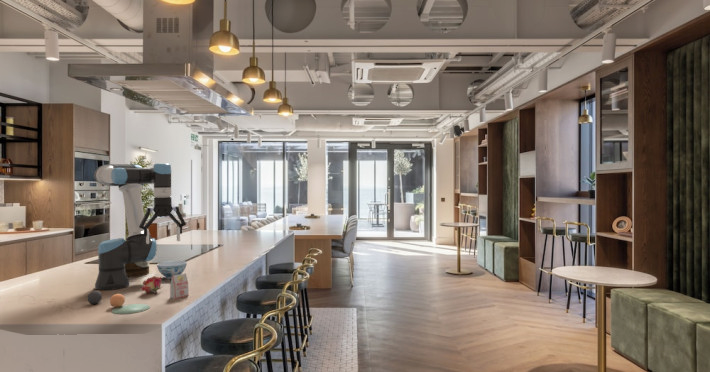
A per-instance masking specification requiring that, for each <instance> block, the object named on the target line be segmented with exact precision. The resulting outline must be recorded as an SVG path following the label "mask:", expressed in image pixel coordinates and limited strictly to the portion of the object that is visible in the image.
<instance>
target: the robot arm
mask: <svg viewBox="0 0 710 372" xmlns="http://www.w3.org/2000/svg"><path fill="white" fill-rule="evenodd" d="M94 179H95V181H96V182H97V183H99V184H101V185H102V186H107V187H118V191H119V192H121V193H122V198H123V204H124V211H125V216H126V224H127V229H128V230H127V231H128V235H127V236H126V240H125V238H119V237H118V238H111V239H108V240H104V241H101V242H99V244H98V247H97V248H98V250H97V254H98V258H97V259H98V274H97V277H96V281H95V283H94V288H95V289H96V291H98V290H99V291H112V290H118V289H122V288H127V287H128V286H129V285H130V278H129V277H128V276H127V274H126V271H125V264H129V263H136V262H145V261H149V262H150V261H152V260H154V258H155V256H156V253H157V248H158V247H157V245H158V244H157V240H156V238H155V237H154V238H153V237H152V236H151V233H150V230H149V227H150V226H152V224H153V222H155V220H156V219H157V218H158V217H159V218H163V217H165V218H167V217H169V218H170V219H171V220H172V221H173V222H174V223H175V224H176V225H177V227H176V241H177V242H181V235H182V234H183V227H184V226H186V225H187V223H186V221H185V219H184V218H183V215H182V213H181V212H180V208H179V206H177V205H176V206H172V197H171V196H172V165H171V164H170V163H154V164H153V167H143V166H141V165H140V164H133V163H130V164H125V163H124V164H121V163H120V164H117V163H116V164H113V163H110V164H104V165H101V166H99V167H97V169H95V171H94ZM146 184H147V185H148V184H151V185H152V184H153V196H154V197H153V207H146V210H145V213H144V207H143V206H144V205H143V201H142V193H141V190H142V189H143V186H144V185H146ZM172 211H174V212H175V214H176V216H177V217H178V218H176V217H175V216H174V215H173V214H172ZM152 212H154V214H152V216H151V218H150V219H149V220H148V218H149V216H150V215H151V213H152ZM178 219H179V220H178ZM179 221H180V222H179Z"/></svg>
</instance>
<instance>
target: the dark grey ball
mask: <svg viewBox="0 0 710 372" xmlns="http://www.w3.org/2000/svg"><path fill="white" fill-rule="evenodd" d="M102 295H103V294H102V293H101V292H100V291H98V290H92V291H90V292H89V293H88V294H87V296H86V299H87V302H88V303H89V304H91V305H95V304H98V303H100V302H101V301H102V298H103V296H102Z"/></svg>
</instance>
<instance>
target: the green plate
mask: <svg viewBox="0 0 710 372" xmlns="http://www.w3.org/2000/svg"><path fill="white" fill-rule="evenodd" d="M150 308H151V306H150V305H149V304H147V303H146V304H145V303H132V304H126V305H122V306H120V307H114V308H113V309H112V310H111V313H112V314H115V315H131V314H137V313H142V312H144V311H146V310H148V309H150Z"/></svg>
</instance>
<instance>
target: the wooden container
mask: <svg viewBox="0 0 710 372" xmlns="http://www.w3.org/2000/svg"><path fill="white" fill-rule="evenodd" d="M125 271H126V274H127V276H128V278H133V277H134V278H135V277H141V276H147V275H148V274H150V261H145V262H136V263H129V264H125Z"/></svg>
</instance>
